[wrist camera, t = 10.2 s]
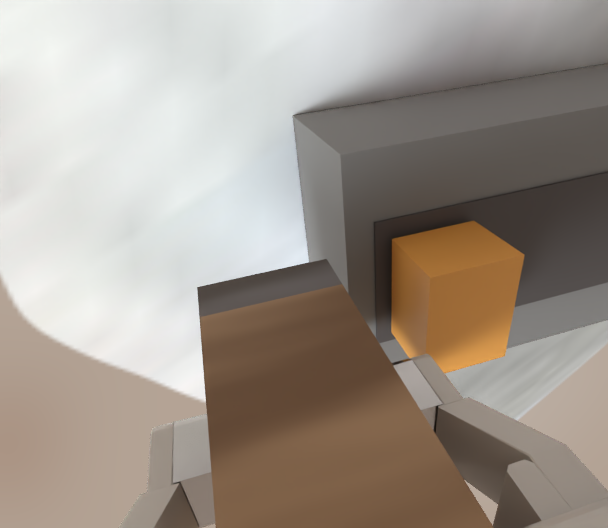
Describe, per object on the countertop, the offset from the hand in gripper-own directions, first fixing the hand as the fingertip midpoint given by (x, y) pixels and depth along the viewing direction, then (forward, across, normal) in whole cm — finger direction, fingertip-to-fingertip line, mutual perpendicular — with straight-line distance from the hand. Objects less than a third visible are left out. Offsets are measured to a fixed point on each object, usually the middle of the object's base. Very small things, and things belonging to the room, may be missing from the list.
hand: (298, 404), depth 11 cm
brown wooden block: (+4, 0, 0) cm, 4 cm away
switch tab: (+4, -6, 0) cm, 7 cm away
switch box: (+10, -11, 0) cm, 15 cm away
